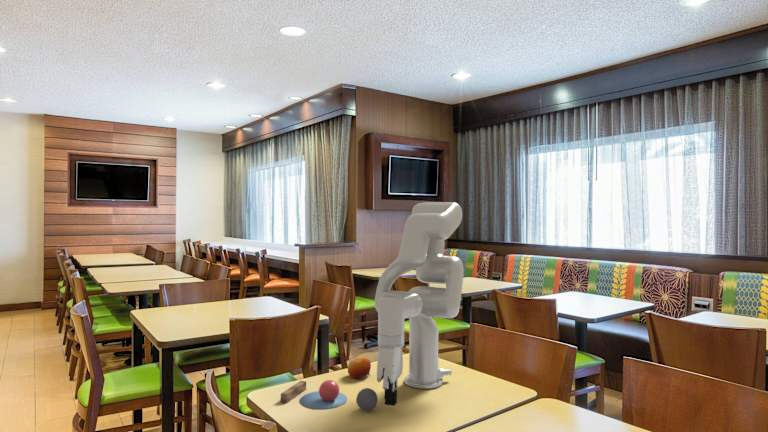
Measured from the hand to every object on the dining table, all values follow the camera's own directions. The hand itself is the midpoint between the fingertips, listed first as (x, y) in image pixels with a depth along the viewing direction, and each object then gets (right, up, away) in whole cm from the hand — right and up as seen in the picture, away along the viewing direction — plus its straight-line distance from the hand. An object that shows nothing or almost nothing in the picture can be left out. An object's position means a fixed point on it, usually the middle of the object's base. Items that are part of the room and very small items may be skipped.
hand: (390, 404), depth 138 cm
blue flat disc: (-20, -1, +7) cm, 21 cm away
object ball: (-18, +2, +6) cm, 19 cm away
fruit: (-10, -2, +28) cm, 30 cm away
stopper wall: (-29, -1, +10) cm, 31 cm away
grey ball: (-7, +1, -1) cm, 7 cm away
